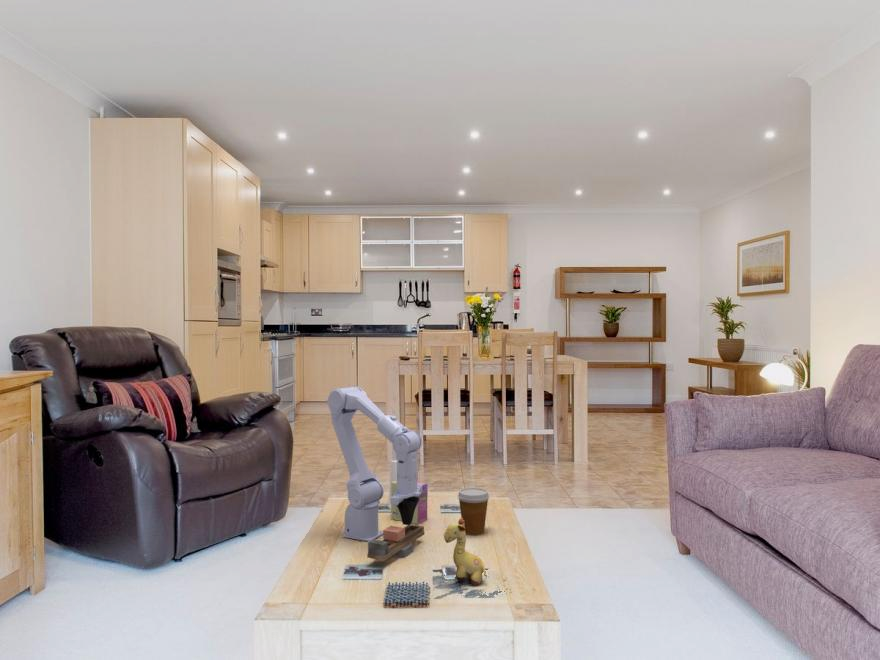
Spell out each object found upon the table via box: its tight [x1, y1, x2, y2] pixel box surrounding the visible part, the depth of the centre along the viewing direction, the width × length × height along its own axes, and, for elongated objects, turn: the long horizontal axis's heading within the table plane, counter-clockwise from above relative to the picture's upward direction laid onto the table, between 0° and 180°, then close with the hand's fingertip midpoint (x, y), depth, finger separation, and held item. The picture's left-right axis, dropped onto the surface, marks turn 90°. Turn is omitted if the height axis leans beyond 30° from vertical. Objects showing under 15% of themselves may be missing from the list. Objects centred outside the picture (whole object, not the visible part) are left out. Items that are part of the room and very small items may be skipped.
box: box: [390, 481, 429, 526], centre depth 191 cm, size 10×6×12 cm, turn 58°
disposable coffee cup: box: [457, 487, 490, 536], centre depth 180 cm, size 10×10×12 cm
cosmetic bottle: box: [387, 445, 397, 509], centre depth 204 cm, size 6×6×22 cm
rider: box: [382, 525, 405, 545], centre depth 161 cm, size 4×4×4 cm
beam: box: [366, 523, 425, 561], centre depth 163 cm, size 7×22×6 cm, turn 154°
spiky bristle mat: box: [382, 581, 431, 609], centre depth 135 cm, size 10×11×2 cm
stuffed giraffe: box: [432, 517, 505, 599], centre depth 143 cm, size 16×18×16 cm
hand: (407, 524), depth 168 cm, fingers closed
